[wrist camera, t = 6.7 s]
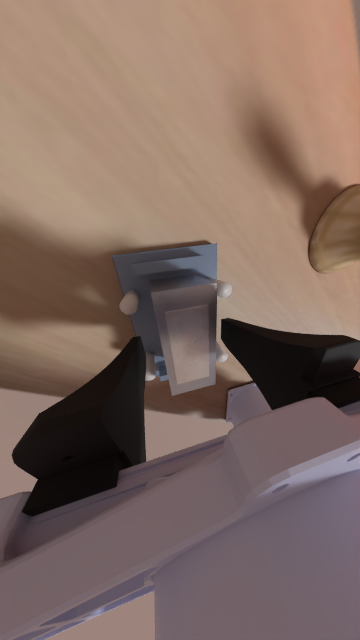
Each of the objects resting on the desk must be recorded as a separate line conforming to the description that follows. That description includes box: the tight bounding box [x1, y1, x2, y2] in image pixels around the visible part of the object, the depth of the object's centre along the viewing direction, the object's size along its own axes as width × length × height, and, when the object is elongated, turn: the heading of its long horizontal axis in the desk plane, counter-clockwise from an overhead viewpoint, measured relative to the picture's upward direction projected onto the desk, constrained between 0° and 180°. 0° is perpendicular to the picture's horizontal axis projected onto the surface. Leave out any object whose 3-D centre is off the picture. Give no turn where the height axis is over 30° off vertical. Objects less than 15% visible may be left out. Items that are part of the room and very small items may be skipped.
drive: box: [150, 275, 217, 396], centre depth 12 cm, size 9×4×5 cm, turn 6°
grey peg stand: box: [112, 243, 232, 381], centre depth 13 cm, size 14×9×4 cm, turn 6°
